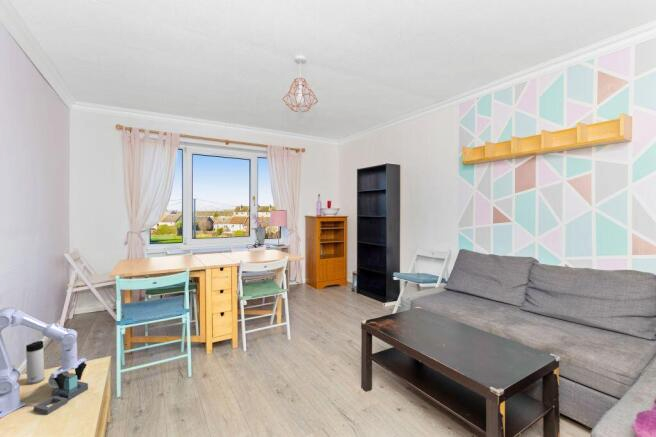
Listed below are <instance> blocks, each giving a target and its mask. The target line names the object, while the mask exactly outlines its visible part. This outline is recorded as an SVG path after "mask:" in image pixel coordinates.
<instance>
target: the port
mask: <svg viewBox="0 0 656 437" xmlns="http://www.w3.org/2000/svg"><path fill="white" fill-rule="evenodd" d="M88 389H89V384H88V382H83V381H80V380H77V387H75V388H73V389H71V390H69V391H67V390H64V389H63V390H61V389H59V388H53V390H51V397H52V396H54V395H55V396H59V397H63V398H68V402H70V401H71V400H72V399H74V398H76V397H77V396H79V395H81V394H82V393H84V392H86V391H88Z"/></svg>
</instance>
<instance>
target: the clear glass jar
mask: <svg viewBox="0 0 656 437" xmlns="http://www.w3.org/2000/svg"><path fill="white" fill-rule="evenodd" d="M62 374H63V375H64V376H66V375H68V374H70V371H69V370H68V371H66V372H64V373H62ZM47 384H48V386H49V387H50V388H52V389H56V388H59V387H58V385H57V383H56V381H55V380H54V379H53V378H51V375H49V378H48V381H47Z"/></svg>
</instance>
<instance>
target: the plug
mask: <svg viewBox="0 0 656 437" xmlns="http://www.w3.org/2000/svg"><path fill="white" fill-rule="evenodd" d="M69 373H70V372H69ZM77 381H78V380H77V375H76V373H74V372H71V373H70V374H68V375H66V377H65V380H64V390H67V391H69V390H71V389H73V388H75V387H77Z"/></svg>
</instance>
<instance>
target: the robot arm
mask: <svg viewBox="0 0 656 437" xmlns="http://www.w3.org/2000/svg"><path fill="white" fill-rule="evenodd" d="M10 325H11V326H10ZM9 326H10V327H12V328H13V327H17V326H25V327H27V328H31V329H34V330H36V331H39V332H41V333H42V336H43V337H46V338H48V339H51V340H53V341H56V342H59V344H60V345H61V349H60V351H61V354H60V355H61V366H60V367H59V368H58V369H56V370H54V371H53V372H51V373H50V376H51V378H53V379H54V380H55V381H56V383H57V385H58V387H59V389H61V390H63V389H64V380H65V377H66V376H64V375H63V374H62V373H64V372H66V371H68V372H69V371H71V370H74V371H75V373H74V374H76V375H77V381H81V379H82V376H83V373H84V371H85V368H86V367H87V362H88V361H87V360H88V359H87V358H86V357H82V358H80V359H78V345H77V338H78V332H77V331H76V330H75V329H74V328H73V329H72V328H71V329H70V328H65V327H63V326H62V325H61V326H60V324H59V323H54V322H53V323H49V324H48V323H46V322H44V321H41V320H40V319H38V318H35V317H33V316H31V315H29V314H27V313H25V312H24V311H22V310H19V309H16V308H15V307H12V306H11V307H9V306H8V307H4V308H3V309H2V308H1V309H0V419H1V418H3V417H5V416H7V415H8V414H10V413H12V412H14V411H17V410H18V409H20V408H21V407H23V406H26V403H25V402H21V396H20V395H21V393H20V383H19V382H18V380H19V379H20V377H21V372H20V371H19V370H18V369H16V367H15V365H13V364H12V362H11V359H10V357H9V353H8V351H7V347H6V344H5V341H4V339H3V337H2V336H3V335H2V331H3V330H4V329H6V328H8V327H9Z"/></svg>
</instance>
